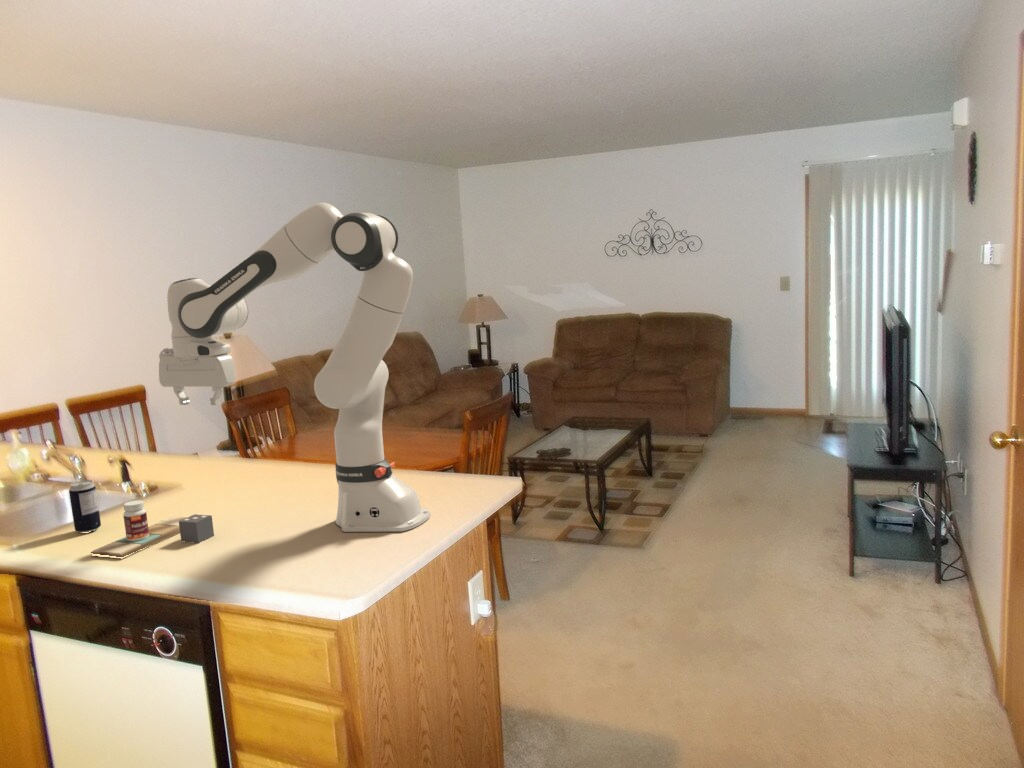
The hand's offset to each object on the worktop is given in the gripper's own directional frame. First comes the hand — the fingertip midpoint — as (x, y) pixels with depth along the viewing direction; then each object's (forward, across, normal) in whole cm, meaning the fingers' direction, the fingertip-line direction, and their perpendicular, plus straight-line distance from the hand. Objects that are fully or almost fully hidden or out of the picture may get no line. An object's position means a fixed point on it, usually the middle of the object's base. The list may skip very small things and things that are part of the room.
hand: (200, 404), depth 190 cm
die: (+29, +5, -12) cm, 32 cm away
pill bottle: (+28, -7, -17) cm, 33 cm away
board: (+29, -7, -14) cm, 33 cm away
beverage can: (+29, -28, -12) cm, 42 cm away
